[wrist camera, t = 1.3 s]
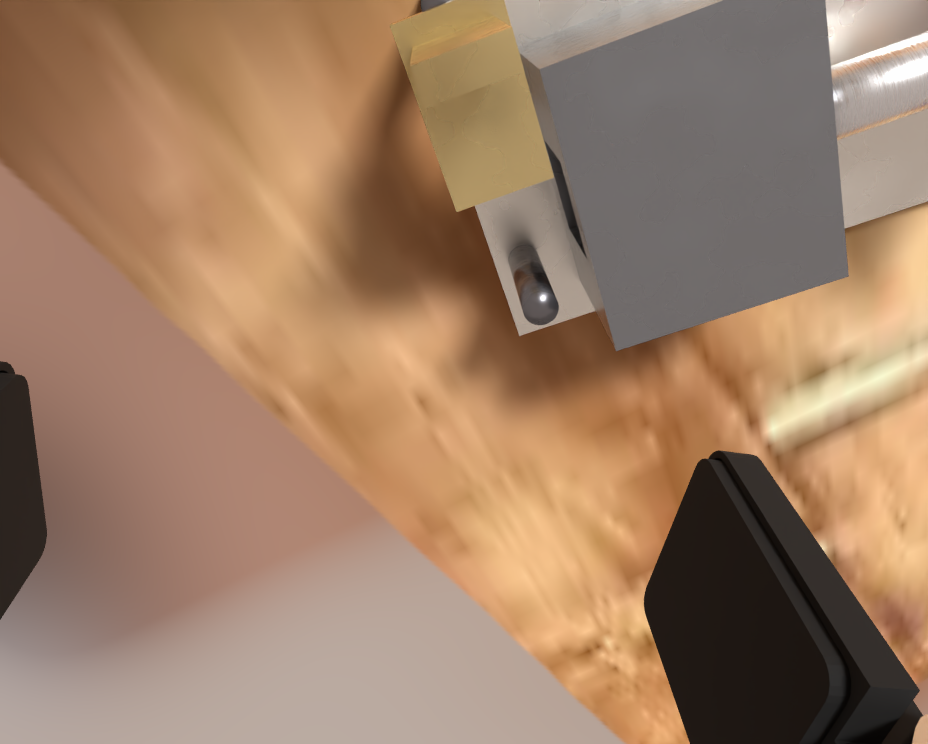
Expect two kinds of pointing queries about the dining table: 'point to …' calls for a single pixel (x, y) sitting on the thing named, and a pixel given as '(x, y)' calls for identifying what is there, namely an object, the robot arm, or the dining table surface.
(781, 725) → the robot arm
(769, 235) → the hitch block
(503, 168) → the plate
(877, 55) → the lynch pin
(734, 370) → the dining table surface
